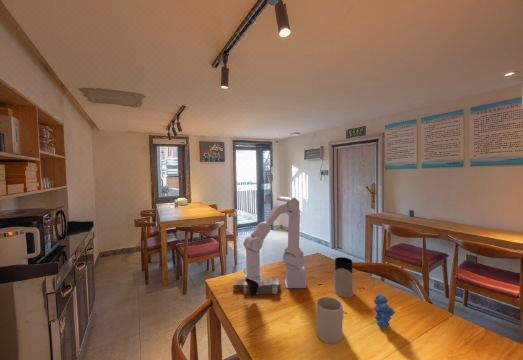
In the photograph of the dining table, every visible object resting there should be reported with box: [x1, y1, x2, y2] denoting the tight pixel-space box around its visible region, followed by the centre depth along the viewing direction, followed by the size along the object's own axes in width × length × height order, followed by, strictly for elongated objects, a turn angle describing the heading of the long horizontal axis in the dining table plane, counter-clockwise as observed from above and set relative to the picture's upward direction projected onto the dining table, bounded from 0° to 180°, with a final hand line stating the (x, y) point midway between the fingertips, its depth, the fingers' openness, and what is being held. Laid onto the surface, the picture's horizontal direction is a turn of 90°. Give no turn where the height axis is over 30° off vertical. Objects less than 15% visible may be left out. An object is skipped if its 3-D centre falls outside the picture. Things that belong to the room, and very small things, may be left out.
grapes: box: [373, 293, 396, 329], centre depth 83 cm, size 12×7×12 cm, turn 169°
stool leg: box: [243, 282, 279, 295], centre depth 107 cm, size 15×3×4 cm, turn 88°
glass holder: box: [332, 256, 354, 298], centre depth 110 cm, size 9×14×15 cm, turn 158°
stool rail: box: [232, 277, 281, 292], centre depth 110 cm, size 22×10×5 cm, turn 90°
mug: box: [315, 296, 344, 345], centre depth 81 cm, size 12×8×11 cm
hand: (253, 295), depth 101 cm, fingers closed
